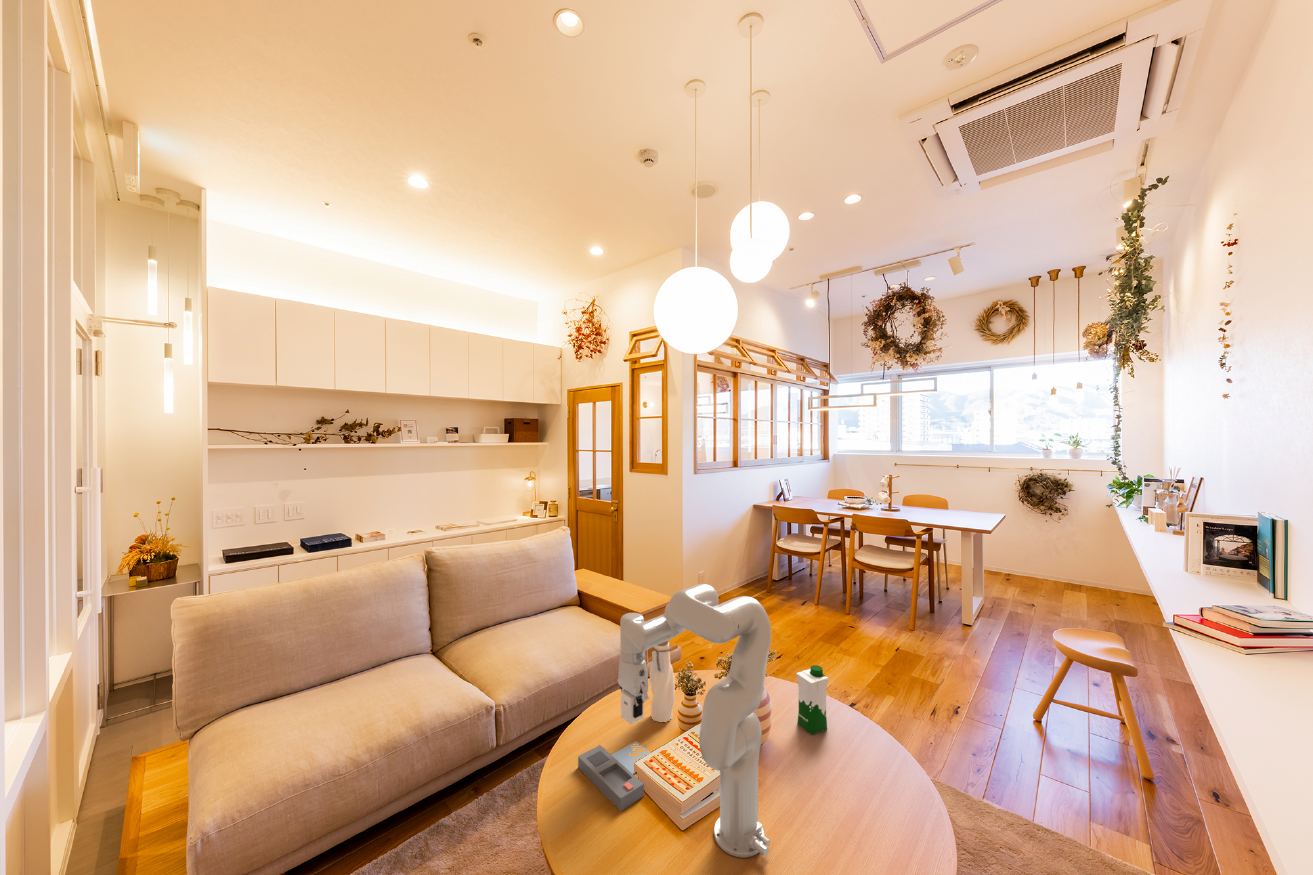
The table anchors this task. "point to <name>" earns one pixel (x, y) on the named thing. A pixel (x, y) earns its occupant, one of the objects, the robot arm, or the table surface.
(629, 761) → the coaster
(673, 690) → the water bottle
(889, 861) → the table surface
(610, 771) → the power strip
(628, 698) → the block
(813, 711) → the milk carton
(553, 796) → the table surface
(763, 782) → the table surface
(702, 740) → the robot arm
